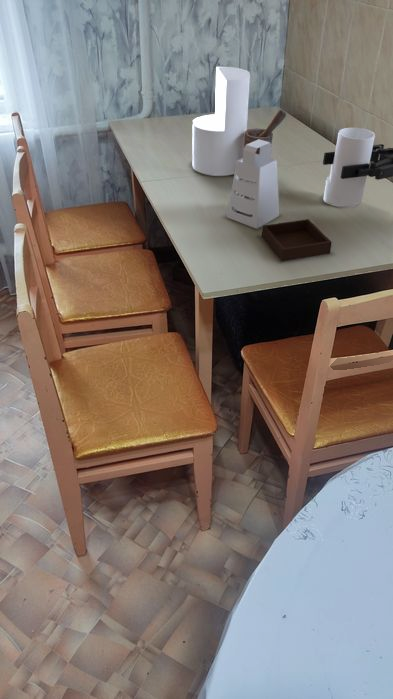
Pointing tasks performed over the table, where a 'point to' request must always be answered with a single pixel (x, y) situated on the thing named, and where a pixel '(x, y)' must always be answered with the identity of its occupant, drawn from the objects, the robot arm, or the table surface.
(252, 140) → the mortar and pestle
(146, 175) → the table surface
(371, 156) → the robot arm
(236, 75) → the cylinder
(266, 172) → the grater
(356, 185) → the cup
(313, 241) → the tray
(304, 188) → the table surface
